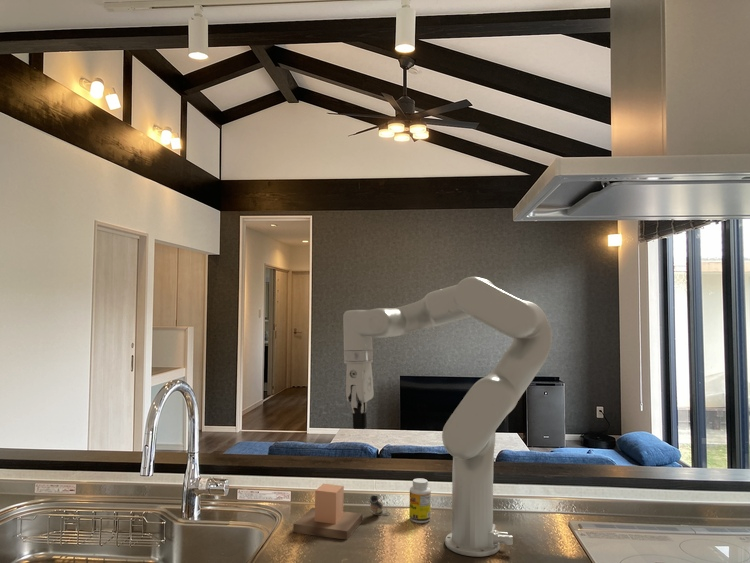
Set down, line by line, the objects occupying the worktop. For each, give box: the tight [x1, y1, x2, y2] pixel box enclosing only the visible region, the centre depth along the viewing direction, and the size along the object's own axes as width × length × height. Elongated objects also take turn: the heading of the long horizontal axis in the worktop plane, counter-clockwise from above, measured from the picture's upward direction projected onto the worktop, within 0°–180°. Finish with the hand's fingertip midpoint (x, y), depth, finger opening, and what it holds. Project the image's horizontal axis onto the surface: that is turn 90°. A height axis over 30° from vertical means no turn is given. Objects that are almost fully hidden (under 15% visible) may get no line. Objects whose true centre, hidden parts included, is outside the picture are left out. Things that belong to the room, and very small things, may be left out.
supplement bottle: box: [408, 478, 432, 524], centre depth 146 cm, size 6×6×10 cm
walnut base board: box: [292, 507, 363, 540], centre depth 140 cm, size 14×12×2 cm
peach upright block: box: [314, 483, 345, 524], centre depth 140 cm, size 6×6×8 cm
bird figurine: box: [369, 495, 391, 516], centre depth 147 cm, size 5×5×6 cm
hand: (359, 428), depth 143 cm, fingers closed
